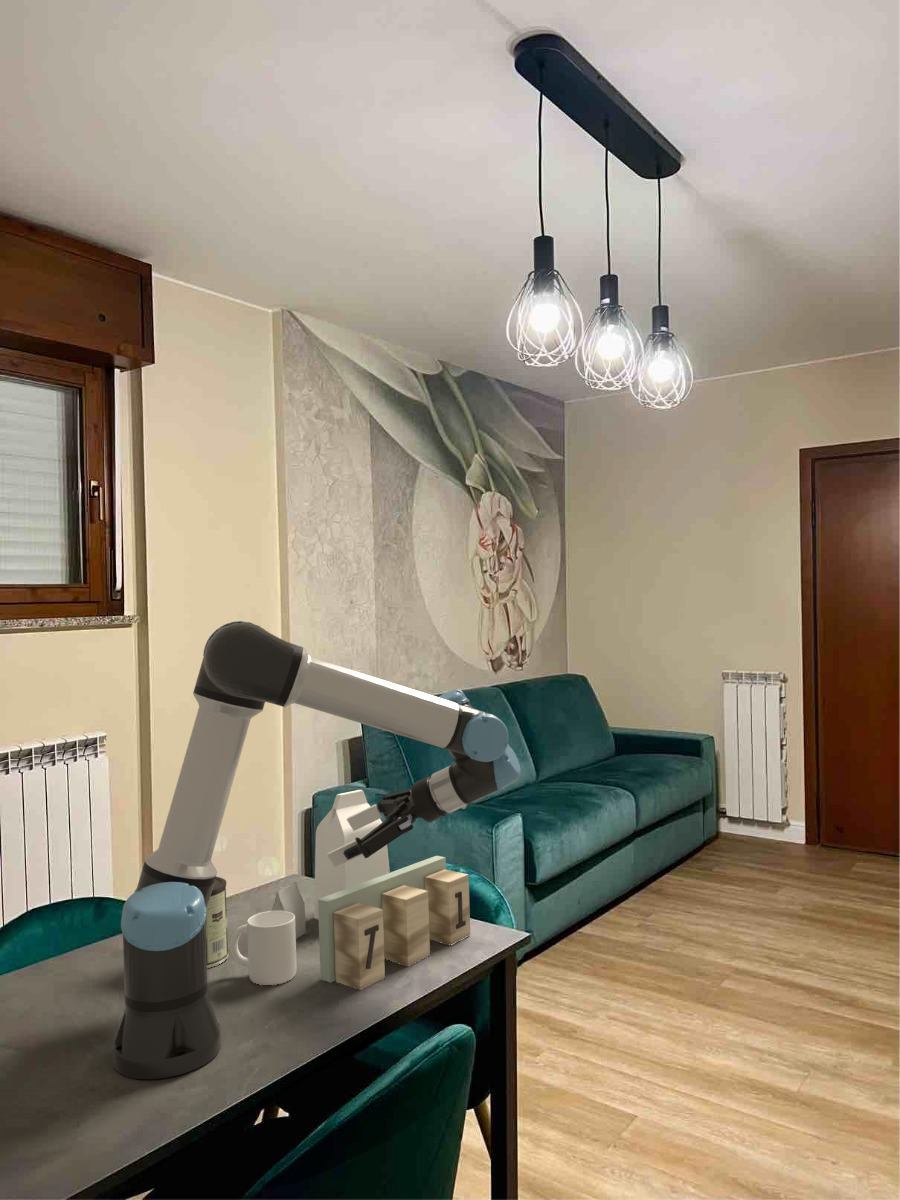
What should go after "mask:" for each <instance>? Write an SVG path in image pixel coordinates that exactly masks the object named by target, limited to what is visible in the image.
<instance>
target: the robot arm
mask: <svg viewBox="0 0 900 1200" xmlns="http://www.w3.org/2000/svg"><path fill="white" fill-rule="evenodd" d="M202 655H203V657H202V662H201V665H200V669H199V671H198V675H197V678H196V682H195V685H194V688H193V691H192V695H193V696H194V698H195V700H196V702H197V704H198V709H197V713H196V716H195V720H194V723H193V727H192V730H191V735H190V737H189V741H188V744H187V748H186V751H185V753H184V754H185V755H184V759H183V762H182V765H181V768H180V772H179V775H178V779H177V782H176V785H175V789H174V793H173V797H172V799H171V803H170V806H169V811H168V814H167V817H166V820H165V824H164V828H163V831H162V835H161V838H160V841H159V845H158V847H157V849H156V850H154V851H153V852H151V853H149V854H148V855H147V856H145V860H144V862H143V865H142V869H141V873H140V876H139V880H138V883H137V887H136V889H135V890H134V892H133V893H132V894H131V895H129V897H128V898H127V899H126V900H125V902H124V904H123V907H122V916H121V918H120V929H121V931H122V942H123V943H122V945H123V946H122V948H123V982H124V983H123V985H124V991H123V992H124V1010H123V1013H122V1016H121V1020H120V1023H119V1027H118V1029H117V1033H116V1036H115V1039H114V1043H113V1050H112V1051H113V1055H112V1056H113V1066H114V1069H115V1070H116V1071H117V1072H118V1073H119V1074H121V1075H123V1076H125V1077H128V1078H132V1079H139V1080H158V1079H159V1080H160V1079H166V1078H173V1077H177V1076H180V1075H183V1074H186V1073H190V1072H192V1071H194V1070H195V1071H196V1070H197V1069H199V1068H201V1067H203V1066H205V1065H207V1064H208V1063H210V1061H212V1060H213V1059H214V1058H215V1057H216V1056H217V1055H218V1054H219V1052H220V1050H221V1049H222V1031H221V1027H220V1026H221V1025H220V1023H219V1022H218V1019H217V1016H216V1013H215V1011H214V1007H213V1005H212V1002H211V999H210V997H209V996H210V995H209V993H208V992H209V991H208V969H207V958H206V911H207V907H208V903H209V900H210V896H211V893H212V889H213V885H214V882H215V878H216V877H217V875H218V871H217V869H216V867H215V865H214V863H213V862H212V857H213V854H214V849H215V847H216V843H217V839H218V836H219V832H220V828H221V825H222V822H223V818H224V815H225V810H226V807H227V804H228V801H229V797H230V792H231V790H232V787H233V783H234V779H235V776H236V773H237V769H238V766H239V762H240V758H241V754H242V752H243V747H244V743H245V741H246V738H247V733H248V730H249V727H250V723H251V721H252V720H251V719H253V717H256V716H257V715H259V714H260V713H262V712H263V711H264V708H265V704H266V703H269V704H272V705H273V704H274V705H276V706H280V707H283V708H286V707H289V706H290V705H292V704H295V705H300V706H303V707H305V708H309V709H313V710H315V711H320V712H323V713H326V714H330V715H332V716H336V717H339V718H342V719H345V720H348V721H352V722H356V723H360V724H362V725H366V726H369V727H373V728H376V729H379V730H382V731H386V732H390V733H392V734H395V735H398V736H401V737H406V738H409V739H412V740H414V741H415V740H416V741H419V742H421V743H426V744H429V745H432V746H435V747H437V748H442V749H445V750H447V751H448V753H449V754H450V755H451V758H452V759H453V761H454V763H453V764H451V765H449V766H446V767H445V768H442V769H440V770H438V771H435V772H434V773H432V774H431V776H427V777H424V778H422V779H420V780H418V781H415V782H414V783H413V784H412V785H411V787H410V788H407V789H403V790H399V791H395V792H392V793H388V794H384V795H383V796H382V797H381V799H382V800H378V802H377V803H376V804H373V805H370V806H371V807H369V808H367V809H365V810H363V811H361V812H358V813H356V814H354V815H352V816H350V817H348V818H347V821H348V823H349V824H350V826H351V828H352V829H353V831H355V830H357V829H359V828H361V827H364V826H366V825H368V824H370V823H372V822H374V821H376V820H378V819H380V820H381V819H382V818H383V817H384V818H385V820H384V821H382V823H381V824H380V825H379V826H377V827H376V828H375V829H373V830H372V831H371V832H370V833H368V834H367V835H366V836H364V837H363V838H362V839H361V840H360V838H358V837H357V838H356V839H355V840H354V841H352V842H350V843H348V844H345V845H343V846H341V847H339V848H337V849H335V850H333V851H331V852H329V853H328V854H327V856H328V857H329V859H330V861H331V862H332V864H333V865H334V867H337V866H339V865H341V864H343V863H345V862H347V861H349V860H351V859H354V858H356V857H358V856H360V855H362V854H363V856H364V857H365V858H368V857H369V856H371V855H372V854H374V853H375V852H377V851H378V850H380V849H381V848H383V847H384V846H386V845H387V846H388V845H389V844H390V843H391V842H393V841H394V840H396V839H397V838H399V837H401V836H402V835H405V834H406V833H407V832H409V831H412V830H413V829H414V825H413V824H414V823H415V822H416V820H417V819H418V818H421V819H422V820H423V821H425V822H427V823H432V822H434V821H437V820H439V819H440V818H443V817H445V816H447V814H448V813H449V814H451V813H453V812H455V811H457V810H459V809H462V810H465V809H466V808H467V806H468V805H471V804H472V803H474V802H476V801H478V800H481V799H483V798H485V797H487V796H490V795H491V794H494V793H497V792H499V791H502V790H503V789H505V788H507V787H509V786H510V785H512V784H513V783H515V782H517V781H518V780H519V779H520V777H521V772H522V771H521V764H520V762H519V759H518V756H517V754H516V753H515V751H514V749H513V748H512V747H511V746H510V744H509V738H510V737H509V730H508V728H507V725H505V723H504V722H503V720H502V719H500V718H499V717H498V716H497V715H495V714H493V713H489V712H485V711H482V710H481V709H477V708H475V707H473V706H472V704H471V703H470V702H471V701H470V699H469V698H467V696H466V695H465V693H464V692H463V691H462V690H461V689H452V690H449V691H447V692H445V693H443V694H441V695H439V696H436V695H431V694H429V693H426V692H422V691H419V690H416V689H412V688H410V687H407V686H404V685H402V684H401V685H400V684H397V683H394V682H391V681H388V680H385V679H382V678H379V677H377V676H376V677H375V676H372V675H369V674H367V673H363V672H360V671H357V670H354V669H351V668H348V667H345V666H342V665H338V664H335V663H332V662H329V661H326V660H322V659H319V658H317V657H313V656H310V655H309V653H308V652H307V650H306V648H305V647H304V646H301V645H297V644H295V643H291V642H289V641H286V640H284V639H283V638H281V637H278V636H276V635H274V633H271V632H269V631H268V630H266V629H265V628H263V627H261V626H260V625H257V624H255V623H253V622H249V621H243V620H238V621H231V622H228V623H225V624H222V626H219V627H218V628H217V629H215V630H214V631H213V632H212V634H211V635H210V636H209V637H208V639H207V640H206V643H205V646H204V648H203V653H202Z"/></svg>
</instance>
